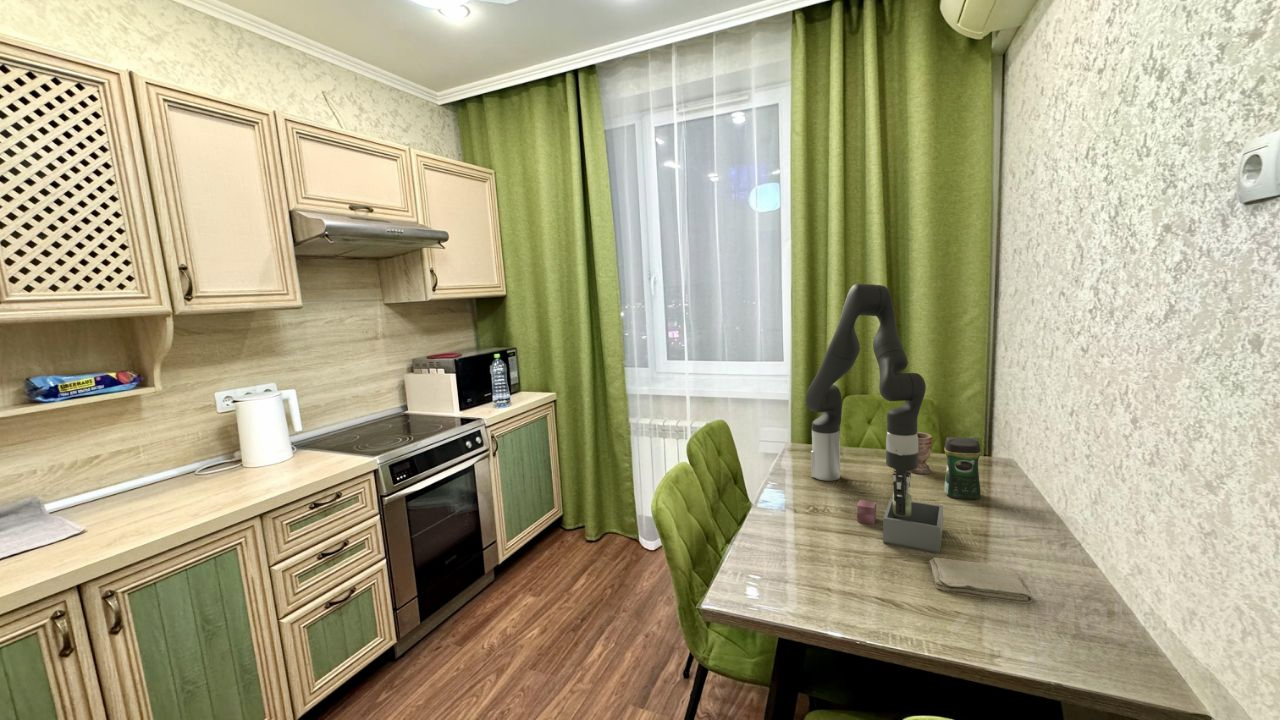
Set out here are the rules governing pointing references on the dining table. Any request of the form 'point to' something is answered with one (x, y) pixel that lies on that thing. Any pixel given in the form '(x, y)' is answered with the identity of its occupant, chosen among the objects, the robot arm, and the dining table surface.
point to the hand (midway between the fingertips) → (901, 509)
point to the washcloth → (979, 580)
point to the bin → (915, 527)
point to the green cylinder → (908, 505)
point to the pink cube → (866, 512)
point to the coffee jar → (962, 468)
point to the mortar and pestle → (923, 453)
